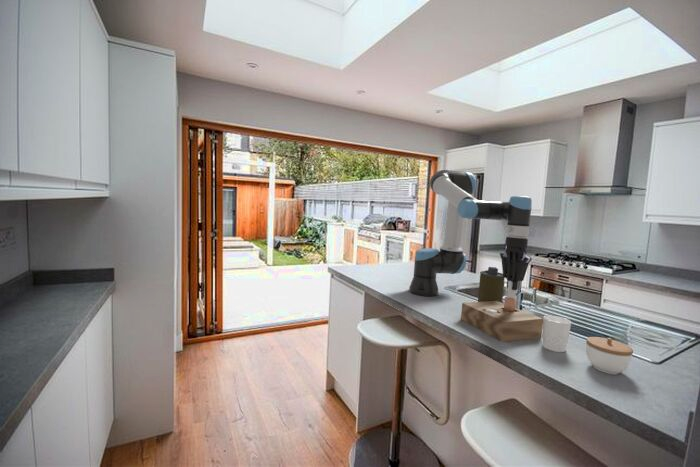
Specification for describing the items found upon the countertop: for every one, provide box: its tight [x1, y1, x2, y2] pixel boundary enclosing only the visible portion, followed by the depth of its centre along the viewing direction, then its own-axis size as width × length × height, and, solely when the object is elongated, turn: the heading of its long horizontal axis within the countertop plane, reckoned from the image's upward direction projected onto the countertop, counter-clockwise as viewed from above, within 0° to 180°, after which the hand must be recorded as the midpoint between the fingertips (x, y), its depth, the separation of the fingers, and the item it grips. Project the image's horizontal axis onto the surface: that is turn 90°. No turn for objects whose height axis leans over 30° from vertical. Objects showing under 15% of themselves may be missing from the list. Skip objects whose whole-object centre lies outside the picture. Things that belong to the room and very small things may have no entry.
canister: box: [477, 266, 506, 303], centre depth 145 cm, size 11×10×20 cm
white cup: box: [541, 314, 572, 353], centre depth 109 cm, size 8×8×10 cm
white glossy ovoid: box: [486, 309, 497, 314], centre depth 123 cm, size 4×4×6 cm
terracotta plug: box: [504, 296, 517, 312], centre depth 126 cm, size 4×4×6 cm
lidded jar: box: [585, 336, 634, 375], centre depth 95 cm, size 11×11×9 cm
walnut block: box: [460, 301, 543, 343], centre depth 125 cm, size 22×18×7 cm
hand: (511, 297), depth 125 cm, fingers closed
